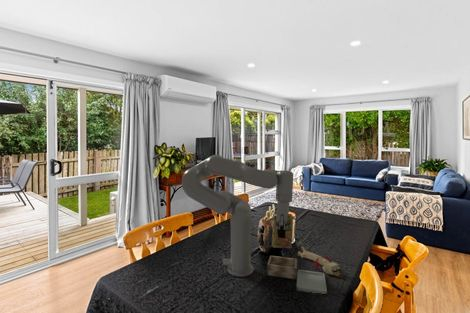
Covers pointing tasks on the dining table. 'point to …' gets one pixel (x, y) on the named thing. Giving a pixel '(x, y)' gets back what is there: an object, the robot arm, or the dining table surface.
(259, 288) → the dining table surface
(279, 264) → the caddy
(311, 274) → the tray
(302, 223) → the dining table surface
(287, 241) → the candy box
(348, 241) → the dining table surface
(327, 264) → the cat figure
